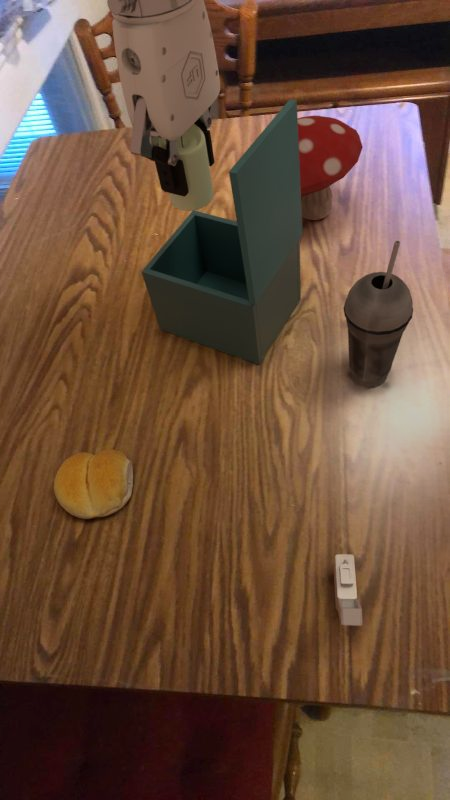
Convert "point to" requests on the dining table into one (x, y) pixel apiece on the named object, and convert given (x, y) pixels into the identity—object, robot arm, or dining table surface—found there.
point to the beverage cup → (376, 323)
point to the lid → (268, 200)
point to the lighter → (346, 590)
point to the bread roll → (94, 483)
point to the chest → (218, 290)
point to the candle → (193, 170)
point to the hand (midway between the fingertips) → (188, 176)
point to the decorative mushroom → (324, 160)
